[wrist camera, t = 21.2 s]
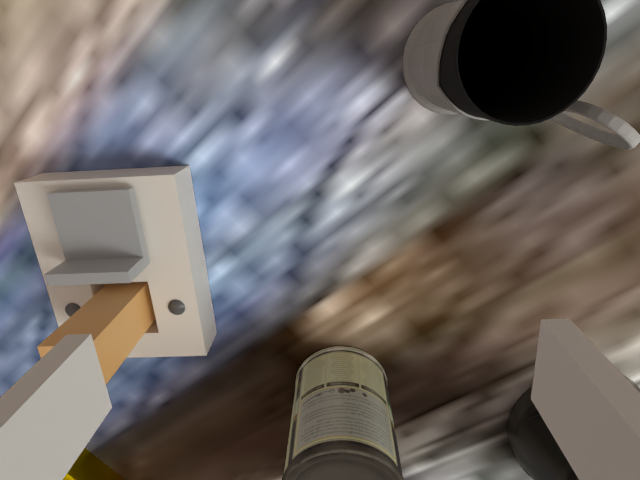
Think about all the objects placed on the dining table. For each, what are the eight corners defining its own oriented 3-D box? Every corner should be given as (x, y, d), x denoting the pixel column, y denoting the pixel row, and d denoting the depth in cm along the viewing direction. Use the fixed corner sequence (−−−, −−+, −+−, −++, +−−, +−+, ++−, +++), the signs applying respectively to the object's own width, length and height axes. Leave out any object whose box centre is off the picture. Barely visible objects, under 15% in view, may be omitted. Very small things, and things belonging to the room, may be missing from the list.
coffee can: (403, 400, 49) (428, 521, 35) (323, 432, 51) (317, 558, 37) (361, 329, 46) (371, 432, 32) (277, 367, 48) (254, 478, 34)
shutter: (150, 263, 39) (130, 283, 35) (74, 265, 39) (47, 285, 36) (133, 186, 37) (110, 199, 33) (53, 190, 37) (21, 203, 33)
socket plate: (216, 333, 46) (206, 356, 43) (90, 336, 47) (68, 359, 43) (189, 165, 40) (173, 174, 36) (43, 172, 41) (13, 182, 37)
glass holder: (446, -24, 34) (522, -94, 20) (582, 79, 36) (736, 82, 22) (381, 77, 37) (408, 78, 23) (511, 167, 39) (608, 219, 25)
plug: (158, 271, 44) (89, 345, 32) (165, 305, 45) (102, 389, 33) (119, 272, 44) (37, 346, 32) (128, 306, 46) (52, 390, 34)
